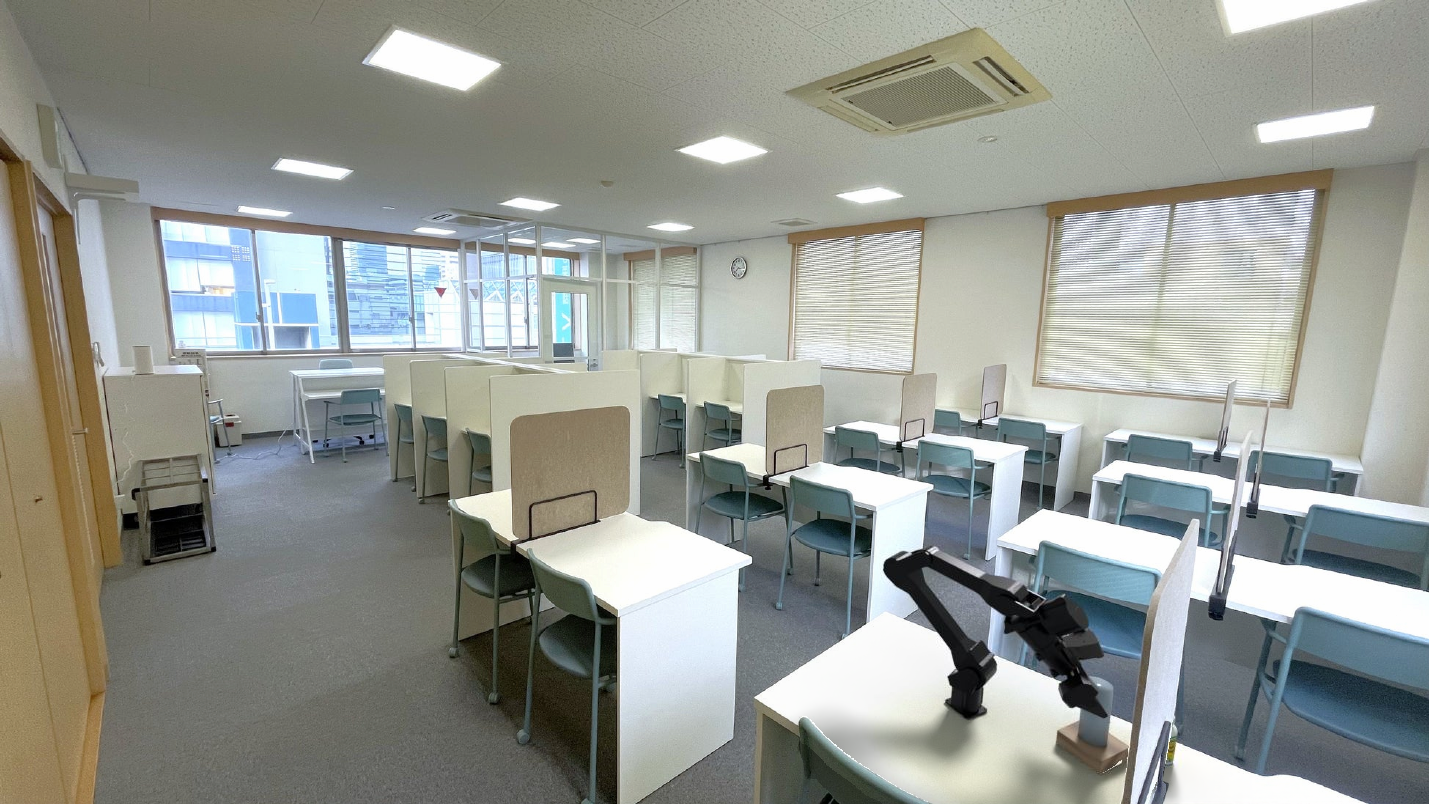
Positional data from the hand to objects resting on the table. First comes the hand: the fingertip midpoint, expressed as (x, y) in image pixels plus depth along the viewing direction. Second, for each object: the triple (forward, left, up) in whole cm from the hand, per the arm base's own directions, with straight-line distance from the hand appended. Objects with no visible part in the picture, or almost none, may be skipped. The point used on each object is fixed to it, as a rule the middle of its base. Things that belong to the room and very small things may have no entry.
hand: (1098, 701), depth 113 cm
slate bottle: (0, 0, -8) cm, 8 cm away
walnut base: (0, 0, -11) cm, 11 cm away
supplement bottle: (+11, -6, -11) cm, 17 cm away
